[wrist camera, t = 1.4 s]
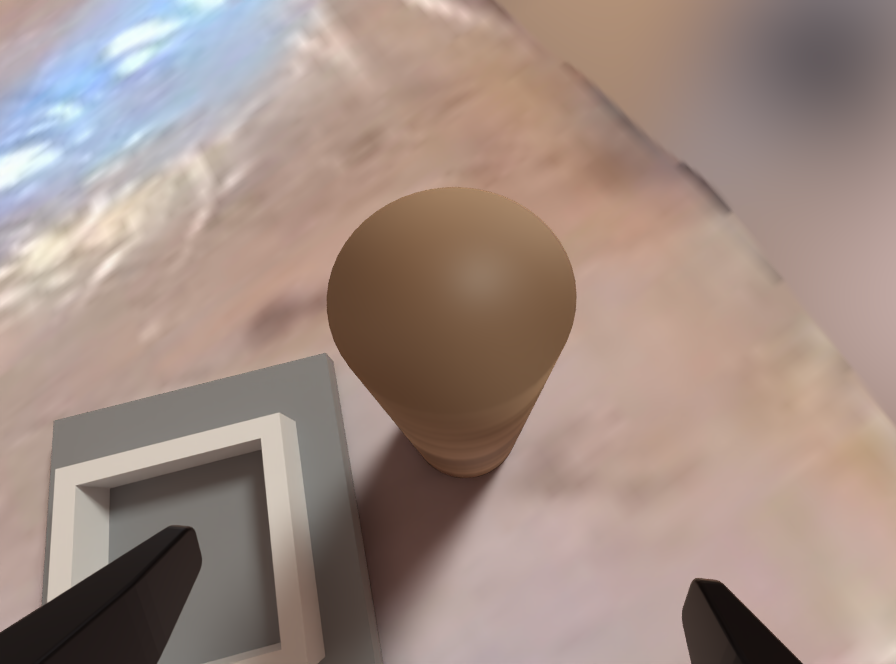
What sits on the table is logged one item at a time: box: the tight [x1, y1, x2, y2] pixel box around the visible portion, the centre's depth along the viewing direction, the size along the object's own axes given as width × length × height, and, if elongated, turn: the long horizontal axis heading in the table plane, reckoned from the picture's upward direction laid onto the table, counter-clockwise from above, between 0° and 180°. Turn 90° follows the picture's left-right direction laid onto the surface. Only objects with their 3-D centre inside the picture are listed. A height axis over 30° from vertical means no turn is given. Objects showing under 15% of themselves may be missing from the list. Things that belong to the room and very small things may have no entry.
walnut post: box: [327, 187, 576, 478], centre depth 15 cm, size 5×5×13 cm
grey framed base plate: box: [42, 353, 383, 664], centre depth 18 cm, size 14×12×3 cm
